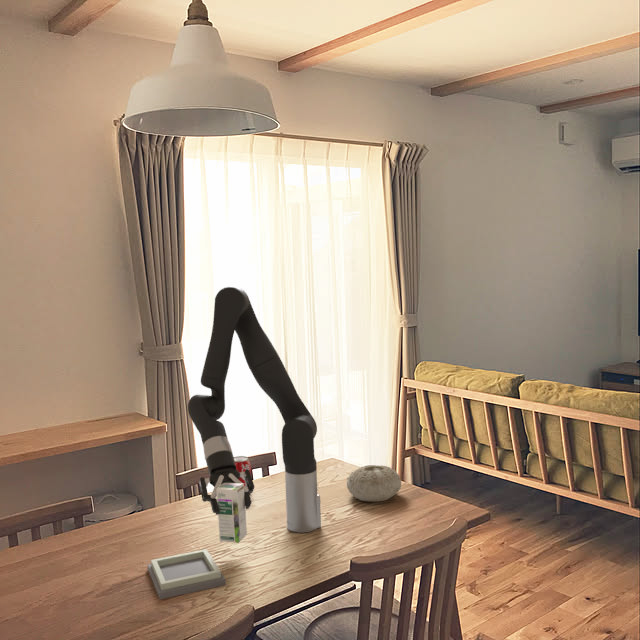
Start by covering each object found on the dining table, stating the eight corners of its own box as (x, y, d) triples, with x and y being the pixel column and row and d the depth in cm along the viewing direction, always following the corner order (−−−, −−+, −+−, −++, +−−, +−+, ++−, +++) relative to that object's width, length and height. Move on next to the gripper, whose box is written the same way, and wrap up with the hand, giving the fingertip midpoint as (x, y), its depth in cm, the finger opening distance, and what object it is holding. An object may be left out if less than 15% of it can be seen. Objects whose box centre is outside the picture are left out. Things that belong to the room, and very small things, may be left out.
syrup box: (219, 542, 182) (215, 488, 180) (228, 532, 187) (224, 481, 186) (238, 543, 180) (235, 489, 178) (247, 534, 186) (244, 482, 184)
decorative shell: (339, 492, 230) (338, 463, 229) (386, 484, 237) (386, 456, 236) (360, 510, 214) (360, 479, 213) (411, 502, 220) (411, 471, 219)
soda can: (253, 489, 235) (252, 455, 234) (249, 497, 228) (248, 461, 227) (233, 489, 236) (231, 455, 235) (228, 497, 229) (227, 461, 228)
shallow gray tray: (208, 557, 184) (208, 546, 184) (225, 584, 168) (225, 573, 168) (147, 569, 178) (147, 558, 177) (159, 599, 162) (158, 587, 162)
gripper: (195, 453, 185) (208, 509, 176) (246, 445, 191) (261, 498, 181) (192, 467, 191) (204, 522, 181) (241, 459, 196) (256, 511, 187)
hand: (233, 510), depth 181 cm, fingers closed on syrup box, 8 cm apart
